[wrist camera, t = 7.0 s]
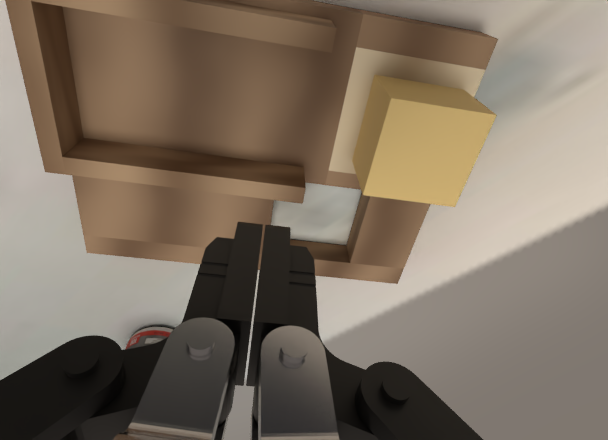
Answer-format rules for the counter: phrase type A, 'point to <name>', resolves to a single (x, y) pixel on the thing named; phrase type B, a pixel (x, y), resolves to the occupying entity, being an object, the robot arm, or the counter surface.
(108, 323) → the counter surface
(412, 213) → the wooden compartment tray
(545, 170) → the counter surface
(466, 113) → the block
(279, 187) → the cubby
